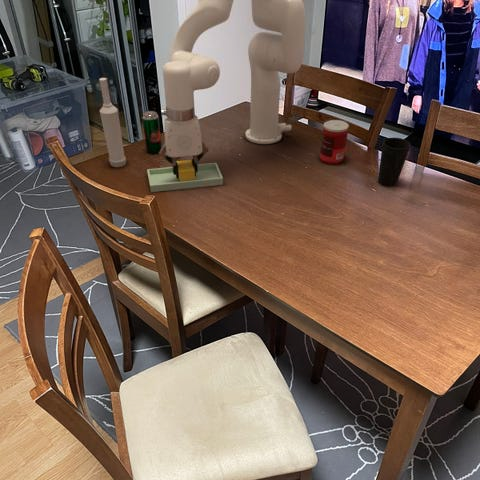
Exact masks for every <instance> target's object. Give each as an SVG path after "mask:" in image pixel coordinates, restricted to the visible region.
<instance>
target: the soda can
mask: <svg viewBox="0 0 480 480" xmlns="http://www.w3.org/2000/svg"><path fill="white" fill-rule="evenodd" d="M141 119H142V128H143V136H144V142H145V143H144V144H145V150H146V151H147V153H150V154H159V151H160V150H161V148H162V146H163V145H162V136H161V127H160V118H159V115H158V112H156V111H154V110H148V111H144V112H143V113H142V116H141Z"/></svg>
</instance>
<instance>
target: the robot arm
mask: <svg viewBox="0 0 480 480" xmlns="http://www.w3.org/2000/svg"><path fill="white" fill-rule="evenodd" d="M250 2H251V17H252V22H253V24H254V25H255V27H257V28H259V29H262V30H265V31H260V32H257V33H254V35H253V36H252V37H251V39H250V41H249V43H248V47H247V48H248V49H247V53H248V54H247V56H248V61H249V69H250V107H249V108H250V111H249V128H248V129H247V130H246V131H245V134H244V136H245V139H246V140H247V141H248V142H251V143H254V144H258V145H270V144H274V143H275V144H276V143H278V142H279V141H281V139H282V137H283V132H291V131H292V128H293V127H292V125H291V124H287V123H286V122H281V123H280V122H279V115H280V114H279V113H280V97H281V78H280V75H279V73H282V74H288V75H292V74H295V73H297V72H298V71H299V70H301V67H302V65H303V62H304V58H305V57H304V56H305V39H306V37H305V36H306V7H305V4H304V2H303V0H251V1H250ZM233 4H234V0H198V2H197V4H196V6H195V8H194V9H193V10H192V11H191V12H190V13H189V14H188V15H187V16H186V17H185V19H184V20H183V22H181V24H180V26H179V27H178V28H177V30H176V33H175V35H174V38H173V41H172V44H171V45H172V46H171V49H170V53H169V59H168V62H166V63H165V64H164V65H163V67H162V77H163V87H164V98H165V108H164V109H161V110H160V111H161V116H165V119H164V142H163V145H162V148H161V150H160V151H159V153H158V155H159V157H161V158H162V159H164V160H166V161H167V162H168V163H170V164H171V165H172V166H171V167H173V174H174V175H176V178H179V174H178V164H177V162H176V161H178V158H184V157H191V156H192V159H191V162H192V165H193V167H194V170H195V177H196V172H198V164H199V162H200V161H201V159H202V158H203V157H204V156H205V155H206V154H208V153H209V148H208V146H207V145H206V144H205V142H204V141H203V140H202V132H201V125H200V121H199V117H198V115H196V110H195V93H194V92H195V91H199V90H207V89H210V88H212V87H214V86H215V85H216V84H217V83H218V82H219V79H220V76H221V69H220V66H219V64H218V62H217V61H216V60H214V59H213V58H212V57H209V56H205V55H201V54H197V53H195V52H193V49H194V46H195V44H196V42H197V40H198V39H199V37H200V36H201V35H202V34H203V33H205V32H206V31H208V30H210V29H212V28H214V27H216V26H218V25H220V24H223V23H225V22H226V21H228V20H229V18H230V15H231V12H232V8H233ZM267 31H271V32H267ZM273 32H275V33H273ZM277 33H280V34H277ZM177 157H178V158H177Z"/></svg>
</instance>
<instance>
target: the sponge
mask: <svg viewBox="0 0 480 480" xmlns="http://www.w3.org/2000/svg"><path fill="white" fill-rule="evenodd" d="M176 162H177V164H178V174H179V182H182V181H192V180H195V170H194V167H193V165H192V159H186V160H177V161H176Z"/></svg>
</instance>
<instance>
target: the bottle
mask: <svg viewBox="0 0 480 480" xmlns="http://www.w3.org/2000/svg"><path fill="white" fill-rule="evenodd" d="M108 83H109V82H108V78H107V77H100V78H99V85H100V89H101V95H102V101H103V103H102V107H101V108H100V109H99V114H100V115H99V116H100V119H101V122H102V128H103V129H102V130H103V133H104V138H105V143H106V147H107V152H108V156H109V158H108V161H109V164H110V166H111V167H113V168H121V167H124V166H126V164H127V158H126V156H125V151H124V143H123V137H122V130H121V122H120V118H119V117H120V116H119V115H120V114H119V109H118V108H117V107H116V106H115V105H113V103H112V102H111V97H110V91H109V85H108Z"/></svg>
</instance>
